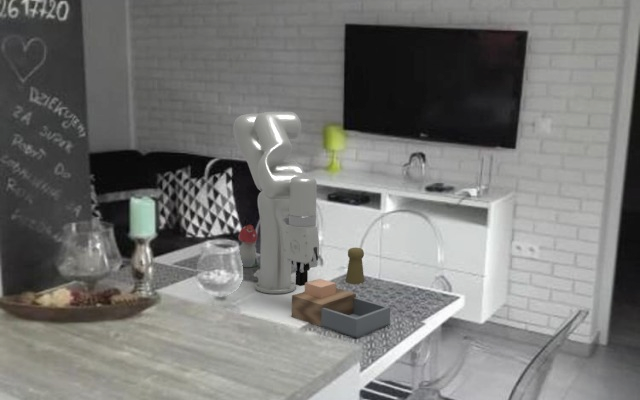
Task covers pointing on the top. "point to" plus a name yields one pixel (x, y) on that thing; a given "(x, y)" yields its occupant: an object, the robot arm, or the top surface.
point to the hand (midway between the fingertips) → (301, 284)
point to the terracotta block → (320, 288)
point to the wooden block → (321, 305)
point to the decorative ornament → (248, 246)
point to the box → (357, 318)
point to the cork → (355, 266)
